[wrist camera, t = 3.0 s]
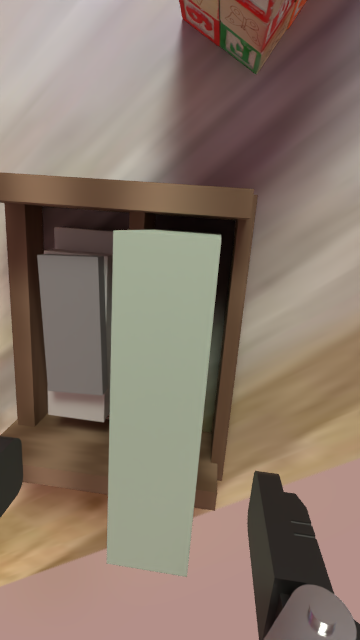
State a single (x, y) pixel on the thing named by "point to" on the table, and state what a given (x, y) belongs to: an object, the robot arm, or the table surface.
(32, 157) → the table surface
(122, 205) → the rack
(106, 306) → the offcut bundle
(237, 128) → the table surface
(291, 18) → the stack of blocks
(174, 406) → the tall sheet
